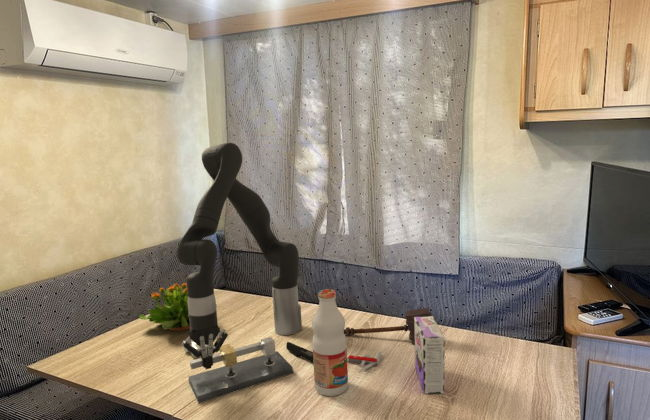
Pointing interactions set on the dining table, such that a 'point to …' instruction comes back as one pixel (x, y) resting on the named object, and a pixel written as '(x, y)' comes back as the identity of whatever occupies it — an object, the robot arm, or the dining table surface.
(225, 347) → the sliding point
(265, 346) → the steel beam
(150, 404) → the dining table surface
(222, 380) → the bolt hole plate
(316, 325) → the fruit juice
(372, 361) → the swiss army knife
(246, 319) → the dining table surface
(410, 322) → the hammer
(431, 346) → the candy box
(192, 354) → the pipe fitting
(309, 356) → the electric trimmer
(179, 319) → the potted flower
